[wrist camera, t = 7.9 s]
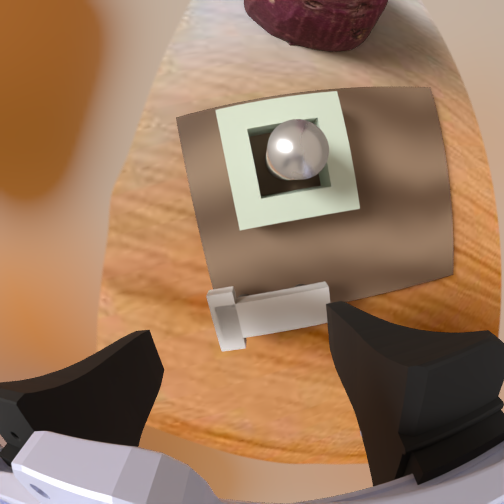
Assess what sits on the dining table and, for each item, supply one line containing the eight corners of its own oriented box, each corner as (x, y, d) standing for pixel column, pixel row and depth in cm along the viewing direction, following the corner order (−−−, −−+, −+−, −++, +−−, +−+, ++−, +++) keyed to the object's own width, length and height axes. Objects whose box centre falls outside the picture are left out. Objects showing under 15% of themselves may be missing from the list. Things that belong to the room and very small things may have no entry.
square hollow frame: (345, 204, 19) (360, 208, 16) (242, 222, 19) (239, 230, 17) (325, 103, 17) (336, 91, 14) (221, 120, 18) (215, 109, 15)
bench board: (446, 276, 21) (473, 292, 17) (225, 324, 22) (218, 351, 18) (424, 90, 17) (451, 77, 14) (179, 120, 19) (162, 107, 15)
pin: (310, 174, 19) (336, 170, 12) (271, 185, 19) (277, 187, 12) (298, 136, 18) (318, 112, 11) (260, 147, 18) (259, 128, 11)
